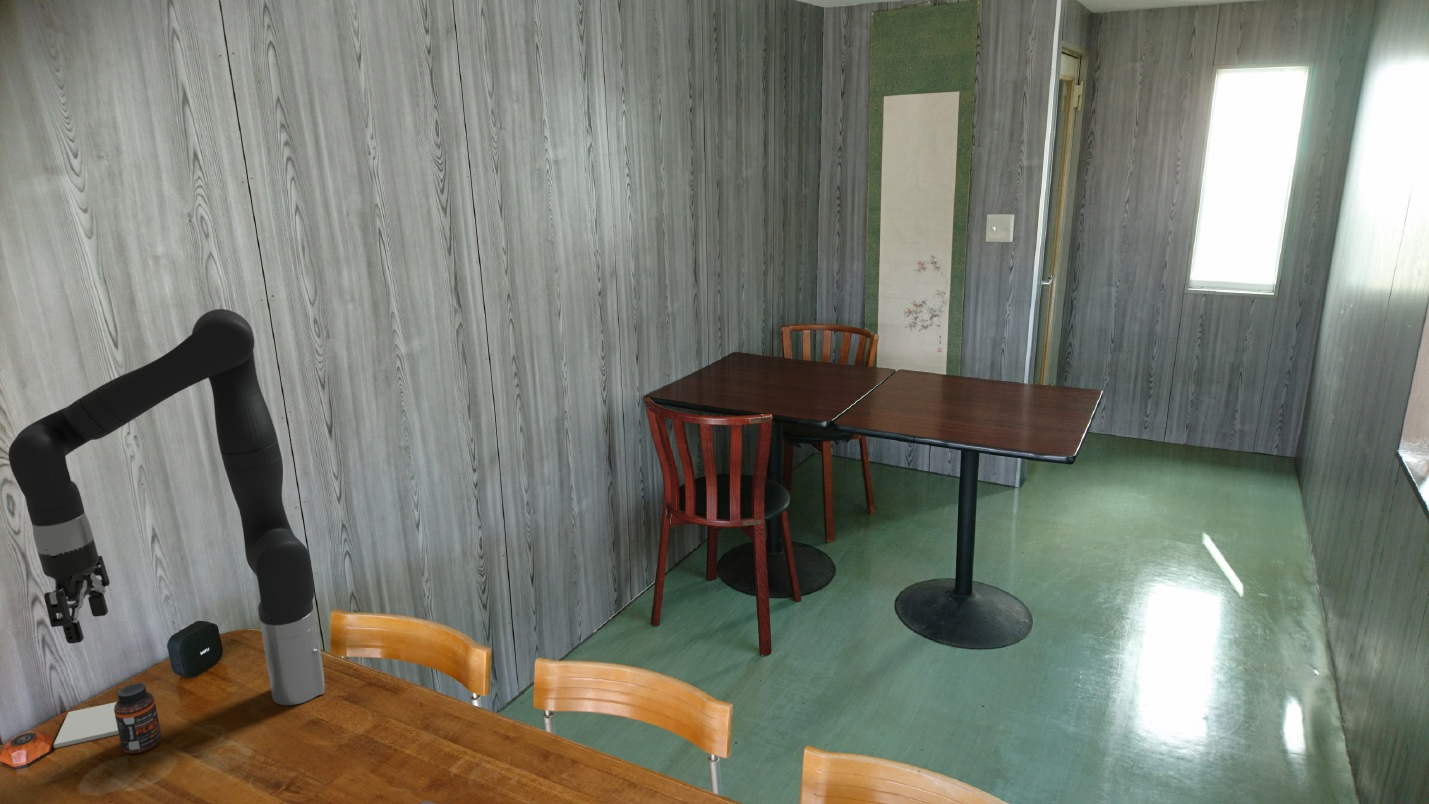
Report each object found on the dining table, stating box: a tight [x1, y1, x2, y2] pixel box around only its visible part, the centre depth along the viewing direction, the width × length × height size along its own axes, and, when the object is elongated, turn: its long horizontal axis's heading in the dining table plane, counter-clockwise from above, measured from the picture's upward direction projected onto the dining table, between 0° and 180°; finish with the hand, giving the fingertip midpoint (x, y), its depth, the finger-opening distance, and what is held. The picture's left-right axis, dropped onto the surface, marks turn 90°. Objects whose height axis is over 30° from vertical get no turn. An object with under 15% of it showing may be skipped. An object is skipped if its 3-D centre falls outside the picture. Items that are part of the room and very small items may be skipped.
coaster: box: [53, 701, 119, 749], centre depth 156 cm, size 10×10×1 cm
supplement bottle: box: [114, 682, 162, 755], centre depth 149 cm, size 6×6×11 cm
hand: (88, 628), depth 145 cm, fingers open, 8 cm apart
